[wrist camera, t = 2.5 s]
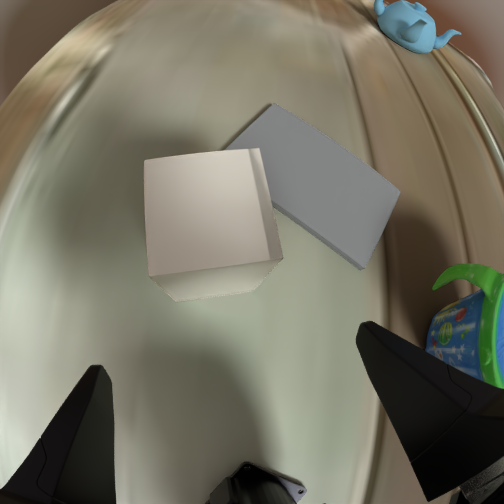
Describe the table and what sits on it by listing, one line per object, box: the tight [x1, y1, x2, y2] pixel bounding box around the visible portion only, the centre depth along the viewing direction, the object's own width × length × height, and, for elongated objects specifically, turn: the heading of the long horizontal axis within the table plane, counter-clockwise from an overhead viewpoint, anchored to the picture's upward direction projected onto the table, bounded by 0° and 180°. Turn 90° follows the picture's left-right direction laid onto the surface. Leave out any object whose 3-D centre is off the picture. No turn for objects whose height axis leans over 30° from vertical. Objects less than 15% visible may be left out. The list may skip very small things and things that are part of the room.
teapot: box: [374, 0, 461, 54], centre depth 36 cm, size 15×15×10 cm
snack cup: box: [425, 264, 504, 389], centre depth 19 cm, size 16×10×10 cm
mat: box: [224, 103, 401, 270], centre depth 26 cm, size 16×10×1 cm, turn 55°
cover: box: [144, 148, 283, 302], centre depth 18 cm, size 6×6×10 cm
